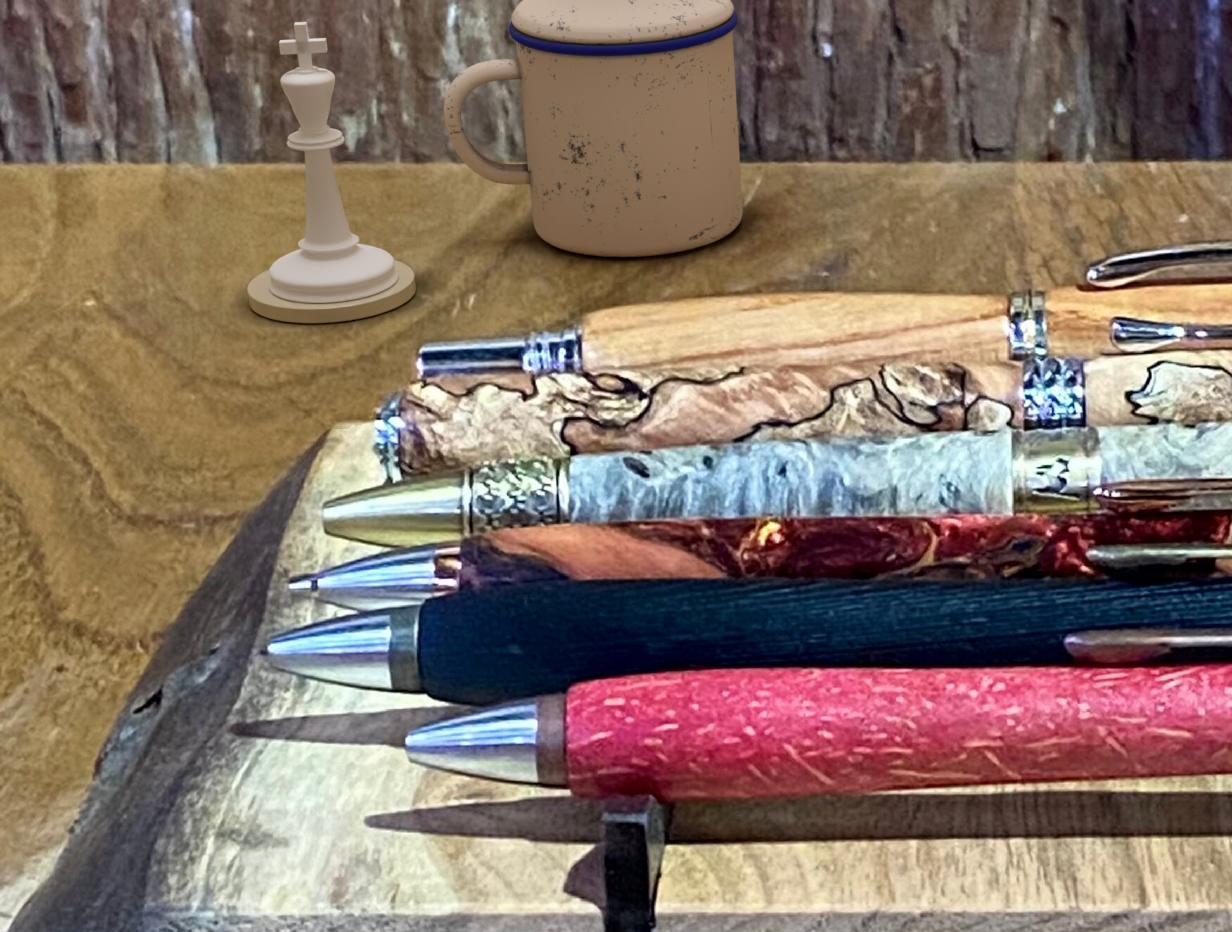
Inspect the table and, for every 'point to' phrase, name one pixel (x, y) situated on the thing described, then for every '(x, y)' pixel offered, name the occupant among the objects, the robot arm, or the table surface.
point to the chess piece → (322, 198)
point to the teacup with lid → (619, 123)
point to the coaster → (330, 312)
